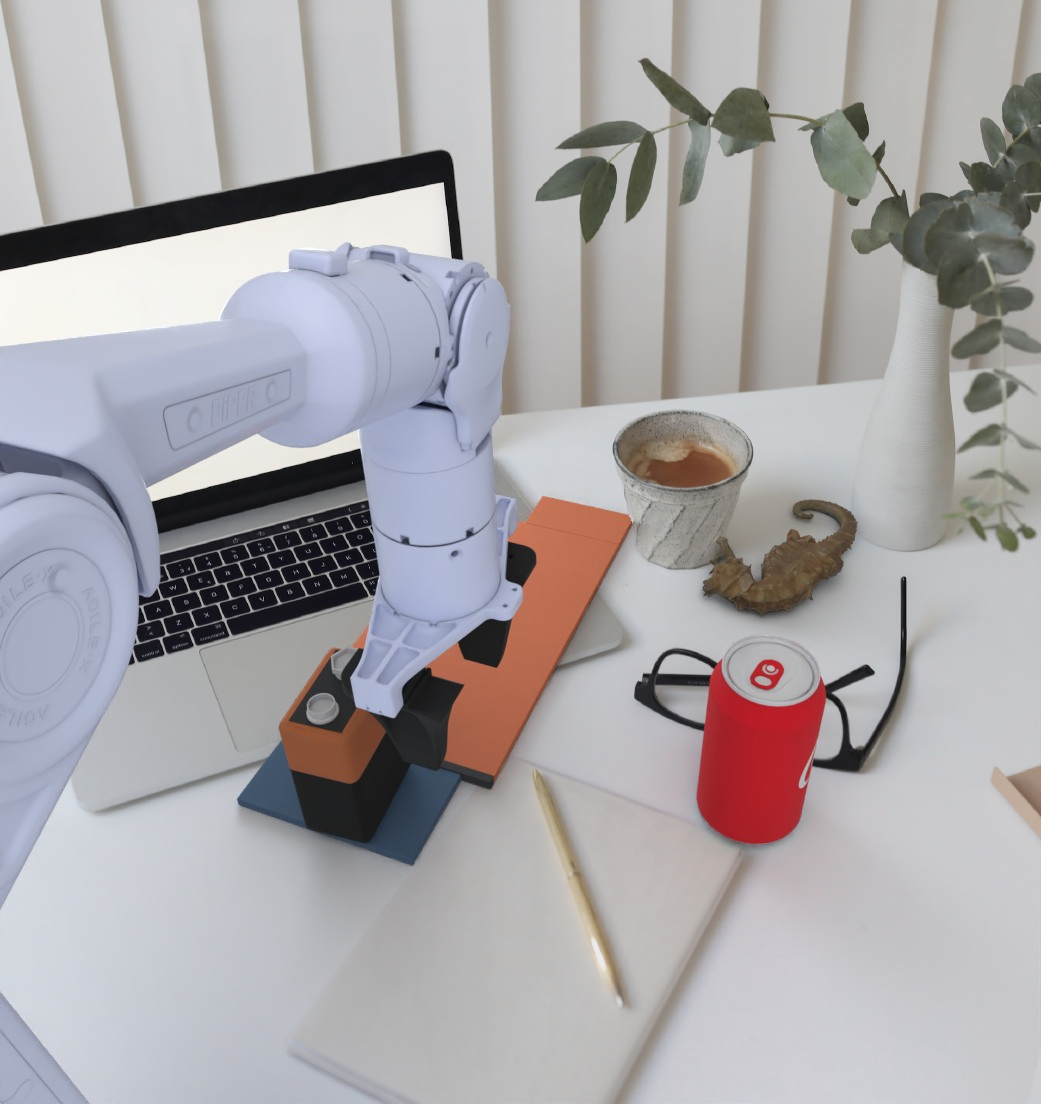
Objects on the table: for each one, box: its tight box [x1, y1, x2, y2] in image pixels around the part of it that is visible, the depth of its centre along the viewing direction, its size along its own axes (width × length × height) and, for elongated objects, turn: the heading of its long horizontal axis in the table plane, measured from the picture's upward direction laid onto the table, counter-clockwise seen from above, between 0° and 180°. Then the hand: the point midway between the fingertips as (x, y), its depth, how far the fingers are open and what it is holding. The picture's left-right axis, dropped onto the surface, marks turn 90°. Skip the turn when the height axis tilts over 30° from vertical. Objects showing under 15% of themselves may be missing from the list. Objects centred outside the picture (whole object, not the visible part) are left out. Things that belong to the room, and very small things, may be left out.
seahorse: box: [702, 499, 859, 618], centre depth 81 cm, size 9×16×3 cm, turn 126°
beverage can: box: [696, 634, 827, 845], centre depth 61 cm, size 6×6×12 cm
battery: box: [278, 646, 411, 843], centre depth 62 cm, size 4×7×10 cm, turn 162°
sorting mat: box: [236, 495, 633, 866], centre depth 76 cm, size 36×14×1 cm, turn 158°
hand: (454, 708), depth 57 cm, fingers open, 7 cm apart
